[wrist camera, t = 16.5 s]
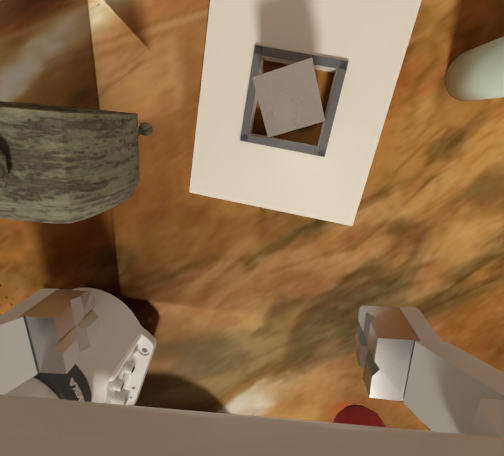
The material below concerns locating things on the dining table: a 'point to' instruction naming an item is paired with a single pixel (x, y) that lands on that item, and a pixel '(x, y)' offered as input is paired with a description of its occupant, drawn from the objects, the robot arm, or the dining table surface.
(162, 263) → the dining table surface
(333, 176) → the socket board
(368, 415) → the tomato
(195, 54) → the dining table surface
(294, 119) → the square peg
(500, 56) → the round peg
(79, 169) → the tabletop clock
